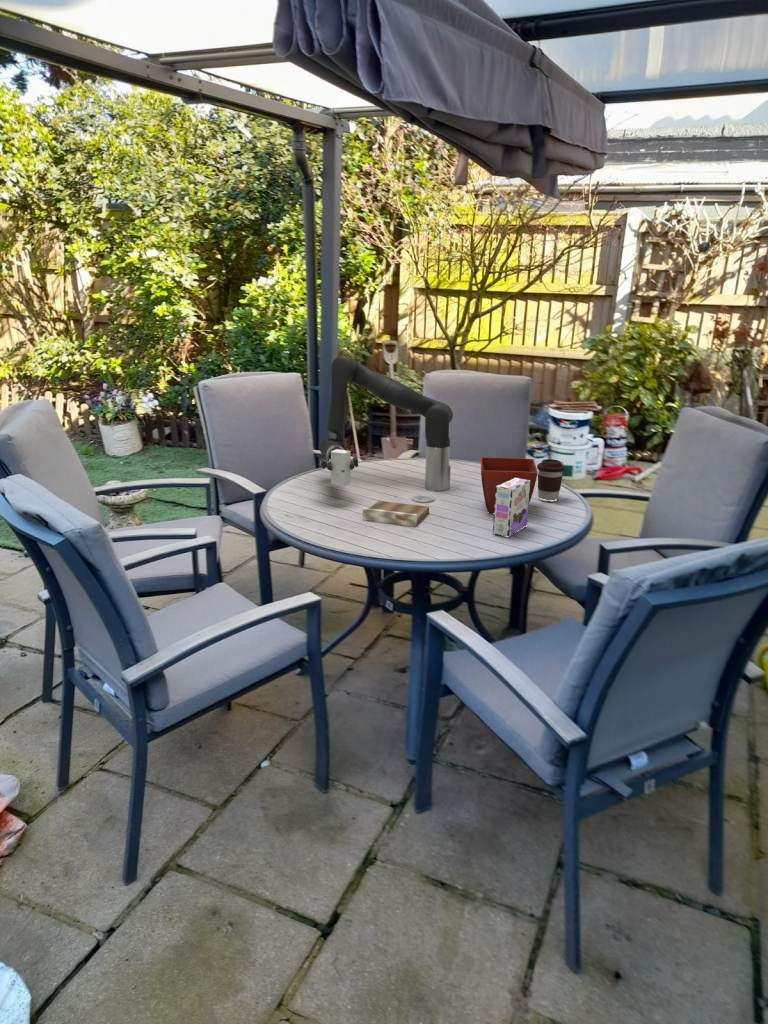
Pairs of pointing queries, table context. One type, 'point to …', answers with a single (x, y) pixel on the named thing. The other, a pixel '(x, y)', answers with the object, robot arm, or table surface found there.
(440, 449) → the robot arm
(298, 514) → the table surface
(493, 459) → the plant pot
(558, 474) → the coffee cup
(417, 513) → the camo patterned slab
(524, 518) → the candy box
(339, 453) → the skincare box
